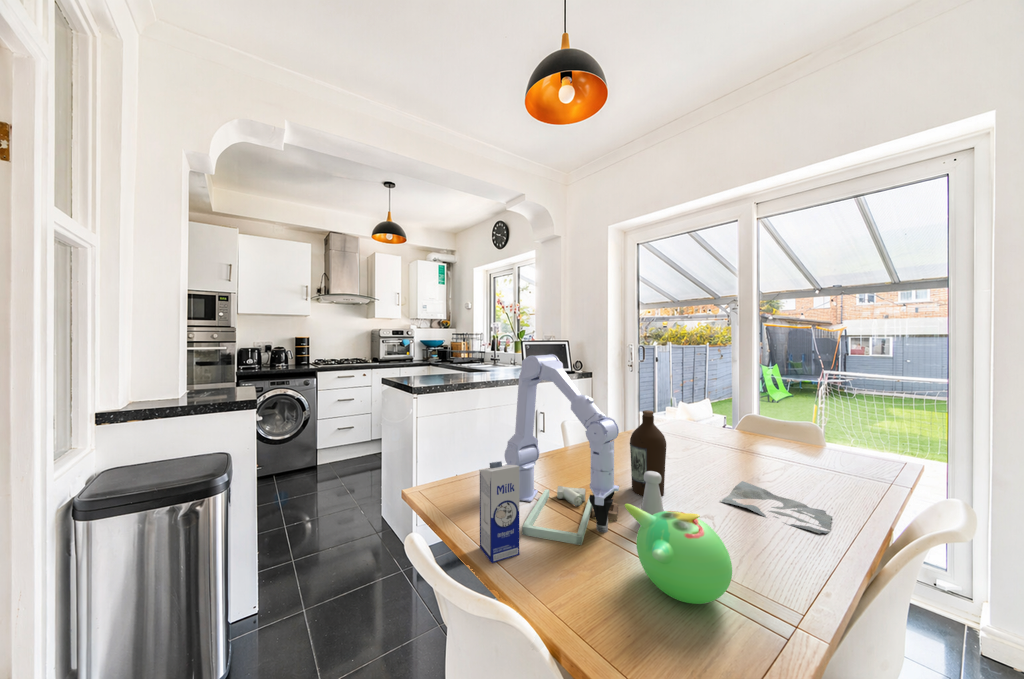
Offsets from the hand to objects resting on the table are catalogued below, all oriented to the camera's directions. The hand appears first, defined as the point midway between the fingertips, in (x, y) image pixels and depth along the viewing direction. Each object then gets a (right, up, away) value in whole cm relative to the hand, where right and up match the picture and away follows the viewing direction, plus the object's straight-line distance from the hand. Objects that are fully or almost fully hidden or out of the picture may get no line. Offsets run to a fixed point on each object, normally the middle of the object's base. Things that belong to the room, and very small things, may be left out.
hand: (602, 521), depth 95 cm
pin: (0, -2, 0) cm, 2 cm away
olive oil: (+19, -2, +23) cm, 30 cm away
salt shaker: (+14, -2, +4) cm, 15 cm away
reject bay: (-9, -2, +7) cm, 12 cm away
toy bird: (+9, -3, -22) cm, 24 cm away
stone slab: (+51, -3, +11) cm, 53 cm away
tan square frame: (+3, -2, +9) cm, 9 cm away
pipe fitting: (-5, -2, +16) cm, 17 cm away
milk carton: (-25, -2, -9) cm, 27 cm away
